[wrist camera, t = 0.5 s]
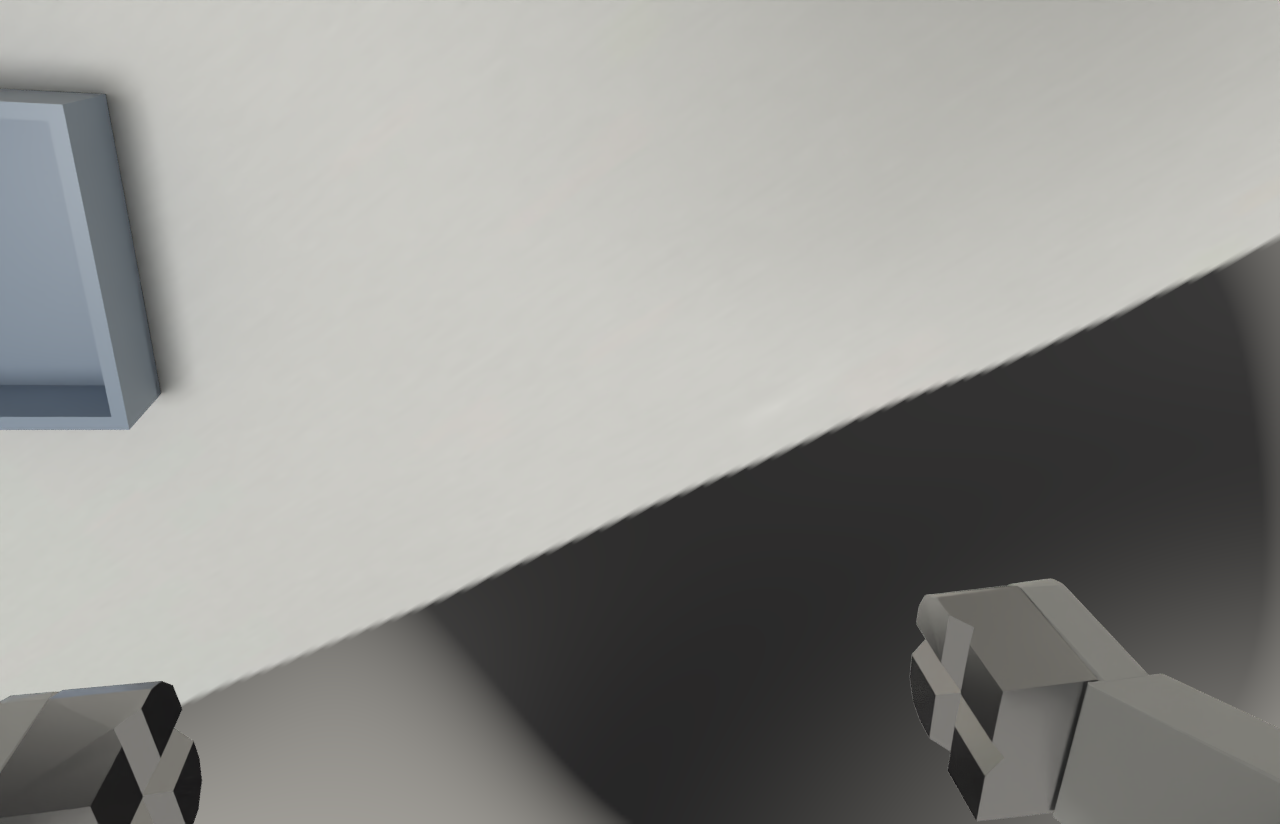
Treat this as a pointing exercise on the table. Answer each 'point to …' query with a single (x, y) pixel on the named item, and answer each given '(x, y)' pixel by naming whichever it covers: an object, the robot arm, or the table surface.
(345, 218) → the table surface
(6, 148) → the tote
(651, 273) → the table surface
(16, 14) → the table surface
